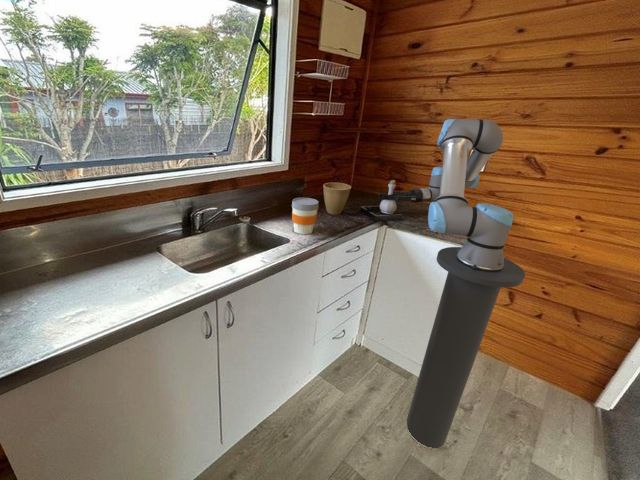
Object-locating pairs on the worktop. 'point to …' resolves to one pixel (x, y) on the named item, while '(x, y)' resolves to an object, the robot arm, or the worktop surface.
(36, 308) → the worktop surface
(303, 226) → the reusable coffee cup
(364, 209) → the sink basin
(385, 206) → the potion bottle
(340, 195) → the plant pot
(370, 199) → the worktop surface
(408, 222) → the worktop surface
